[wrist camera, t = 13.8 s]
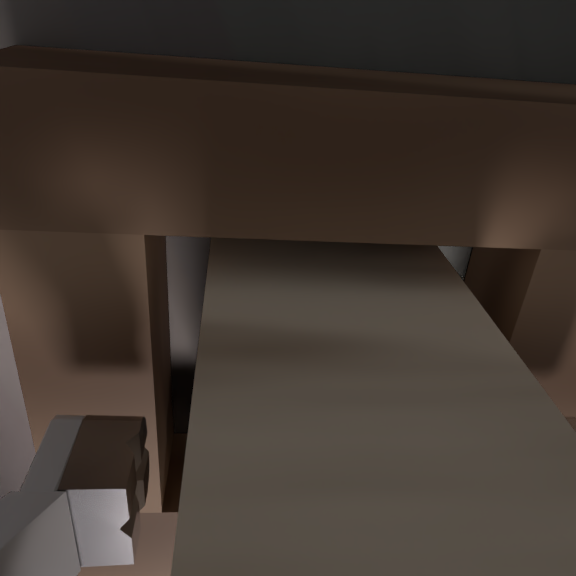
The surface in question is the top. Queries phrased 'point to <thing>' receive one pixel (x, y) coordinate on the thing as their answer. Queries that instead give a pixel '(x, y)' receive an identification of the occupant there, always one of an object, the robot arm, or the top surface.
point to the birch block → (365, 424)
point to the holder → (258, 213)
